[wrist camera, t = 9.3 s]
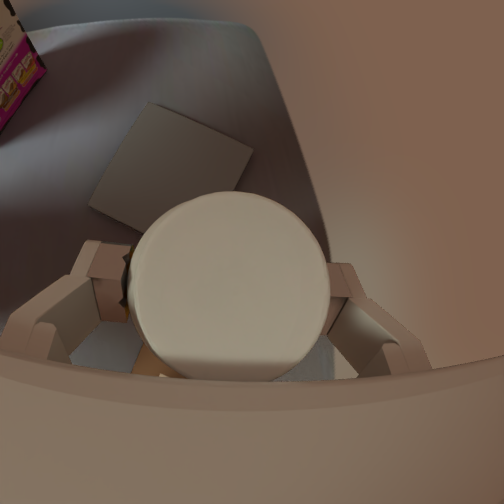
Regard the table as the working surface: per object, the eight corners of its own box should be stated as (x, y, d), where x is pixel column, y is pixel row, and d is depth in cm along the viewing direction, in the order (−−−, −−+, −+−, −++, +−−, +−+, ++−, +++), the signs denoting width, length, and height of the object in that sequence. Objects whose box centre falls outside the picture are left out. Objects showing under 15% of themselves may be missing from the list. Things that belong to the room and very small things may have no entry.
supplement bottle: (232, 359, 15) (289, 455, 6) (134, 310, 15) (57, 349, 5) (280, 262, 16) (393, 237, 7) (184, 212, 16) (181, 116, 6)
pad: (89, 206, 26) (87, 204, 25) (149, 105, 28) (148, 101, 27) (199, 260, 27) (199, 260, 27) (252, 152, 29) (254, 149, 28)
